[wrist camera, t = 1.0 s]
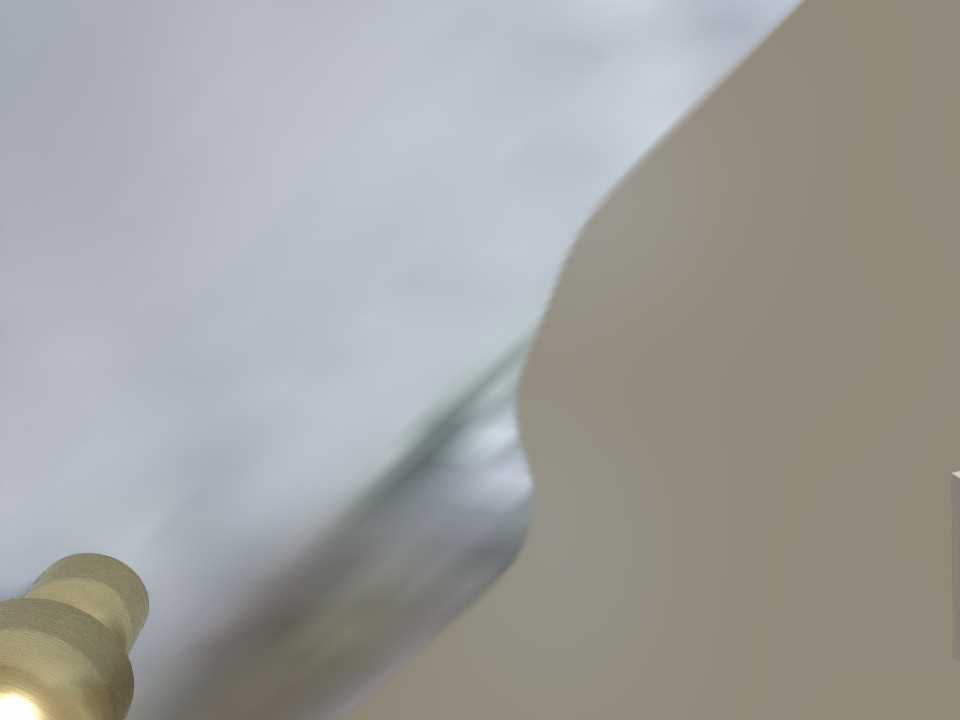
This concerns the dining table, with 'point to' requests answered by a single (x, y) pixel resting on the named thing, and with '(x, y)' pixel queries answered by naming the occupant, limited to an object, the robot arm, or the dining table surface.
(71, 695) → the gold cylinder
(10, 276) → the dining table surface
